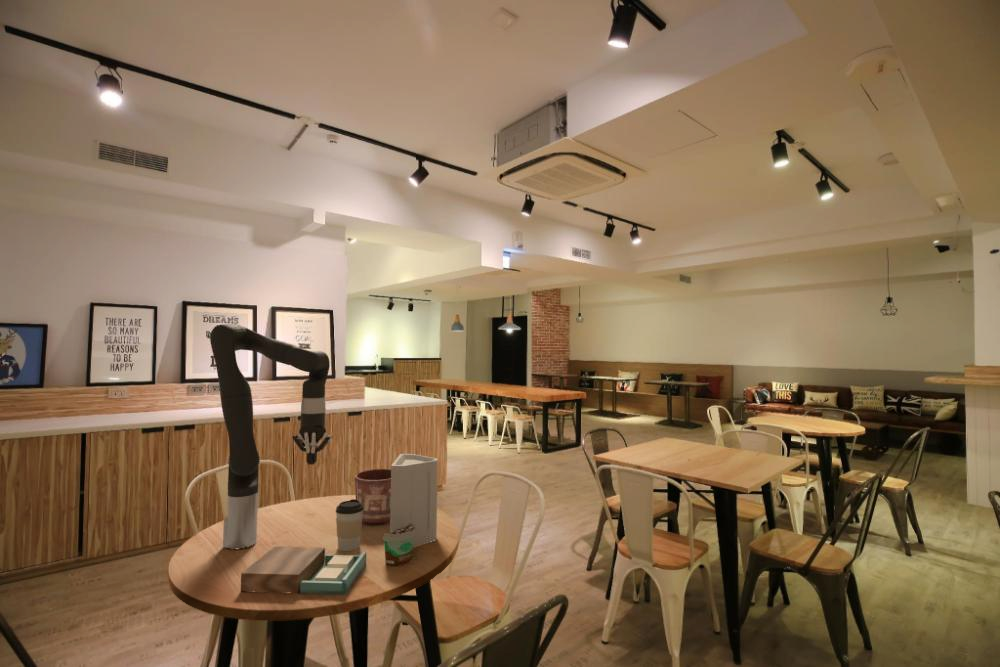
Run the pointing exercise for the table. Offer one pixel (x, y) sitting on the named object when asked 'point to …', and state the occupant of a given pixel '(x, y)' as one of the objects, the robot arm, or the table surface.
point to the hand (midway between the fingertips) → (311, 464)
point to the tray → (335, 586)
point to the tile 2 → (341, 562)
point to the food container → (399, 545)
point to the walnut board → (283, 569)
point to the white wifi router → (414, 496)
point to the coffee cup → (349, 524)
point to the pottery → (374, 495)
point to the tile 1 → (330, 574)
